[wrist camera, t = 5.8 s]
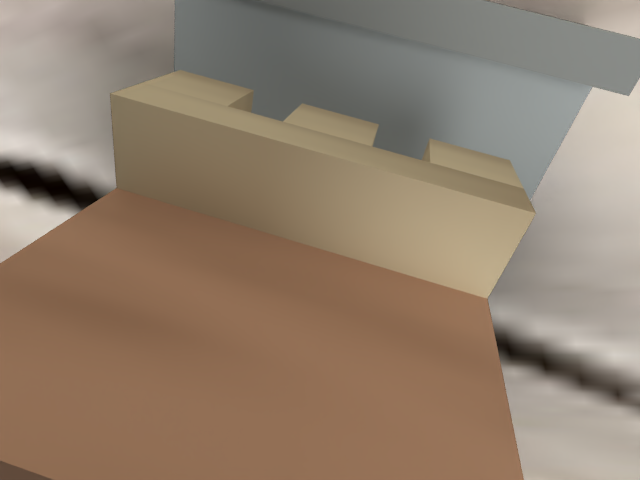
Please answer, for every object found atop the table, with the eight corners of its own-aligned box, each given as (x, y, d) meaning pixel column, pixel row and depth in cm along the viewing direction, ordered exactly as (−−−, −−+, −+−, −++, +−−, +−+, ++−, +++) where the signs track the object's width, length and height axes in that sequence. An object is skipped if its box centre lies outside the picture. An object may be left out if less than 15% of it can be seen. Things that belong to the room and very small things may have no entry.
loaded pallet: (359, 467, 13) (316, 788, 7) (173, 404, 13) (13, 668, 8) (510, 160, 7) (715, 576, 2) (180, 69, 8) (-317, 234, 2)
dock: (435, 325, 18) (438, 411, 15) (199, 254, 19) (146, 318, 15) (586, 25, 12) (659, 44, 8) (217, -66, 12) (130, -88, 9)
